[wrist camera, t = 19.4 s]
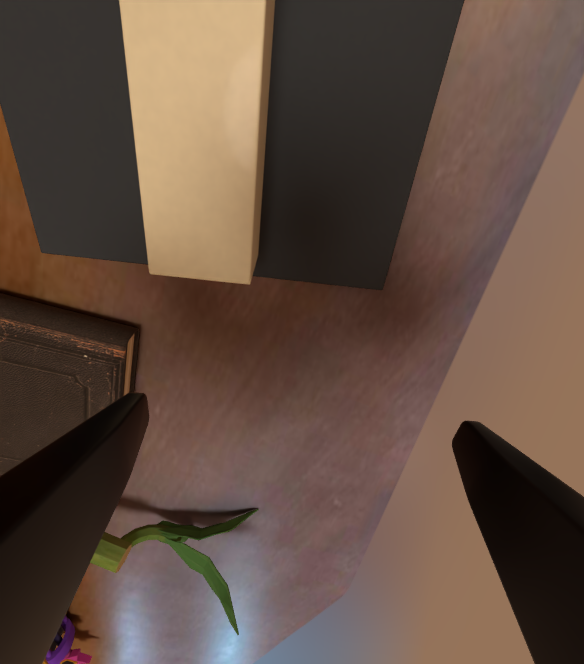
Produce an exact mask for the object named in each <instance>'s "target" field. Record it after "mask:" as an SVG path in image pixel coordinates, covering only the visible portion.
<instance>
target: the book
mask: <svg viewBox="0 0 584 664" xmlns="http://www.w3.org/2000/svg"><path fill="white" fill-rule="evenodd" d="M62 633H65V635H64V638H63V639H62V637H61V635H62ZM74 634H75V627H74V625H73V624H72V622H71V621H70V619H69V618H67V617H66V615H65V617H64V619H63V621H62V623H61V625H60V628H59V630H58V632H57V634H56V636H55V638H54V640H53V642H52V645H51V647H50V649H49V651H48V653H47V655H46V657H45V659H44V662H43V664H59V663H62V664H84V663H90V660H91V658H92V656H89V655H87V654H84V653H81V652H80V649H74V650H71V646H72V643H73V640H74ZM56 645H58V648H56ZM55 648H56V650H55Z"/></svg>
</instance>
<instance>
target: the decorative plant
mask: <svg viewBox="0 0 584 664" xmlns="http://www.w3.org/2000/svg"><path fill="white" fill-rule="evenodd" d="M257 510H259V509H256V510H253V511H250V512H248V513H246V514H243V515H241V516H239V517H236V518H234V519H231V520H229V521H227V522H224V523H219V524H215V525H212V526H209V527H205V528H199V527H196V526H192V525H179V524H174V523H171V522H168V521H161V522H160V523H158V524H157V525H146V526H143V527H139V528H136V529H134V530H132V531H131V532H129V533H128V534H126V535H124V536H123V537H122V538H121V539H120V538H118V537H115V536H113V535H110V534H108V533H106V532H104V534H103V536H102V538H101V540H100V542H99V544H98V547H97V549H96V551H95V553H94V555H93V557H92V559H91V561H90V563H93V564H95V565H97V566H100V567H102V568H105V569H107V570H110V571H112V572H114V573H116V572H118V571H119V569H120V568H121V566H122V565H123V563H124V562H125V560H126V558H127V556H128V554H129V552H130V550H131V547H133V546H134V545H136V544H137V543H140V542H143V541H146V540H159V541H160V542H163V543H167V544H169V545H170V546H171V547H172V548H173V549H174V550H175V551H176V553H177V554H178V555H179V556H180V557H181V558H182V559H183V560H184V561H185V563H186V564H187V565H188V566H189V567H190V568H191V569H193V570H195V571H197V572H199V573H200V574H202V575H203V576H204V578H205V579H206V581H207V582H208V584H209V585H210V587H211V588H212V590H213V591H214V592H215V594H216V595H217V596H218V598H219V599H220V601H221V603H222V605H223V608H224V610H225V612H226V614H227V616H228V619H229V621H230V623H231V625H232V627H233V628H234V630H235V631H236V633H237V635H239V633H238V628H237V624H236V619H235V615H234V610H233V606H232V601H231V596H230V592H229V588H228V585H227V583H226V582H225V580H224V579H223V578H222V576H221V575H220V573H219V572H218V570H217V569H216V567H215V566H214V564H213V562H212V561H211V559H210V558H209V557H208V556H206V555H204V554H202V553H200V552H198V551H197V550H195V549H193V548H191V547H190V546H188V545H186V544H184V543H182V542H185V541H186V540H187V539H188V538H191V539H196V540H201V539H204V538H207V537H210V536H213V535H217V534H221V533H225V532H229V531H231V530H232V529H234V528H236V527H237V526H238V525H239V524H241V523H242V522H243V521H244V520H246V519H247V518H248V517H249V516H251V515H252V514H253V513H255V512H256V511H257Z"/></svg>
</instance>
